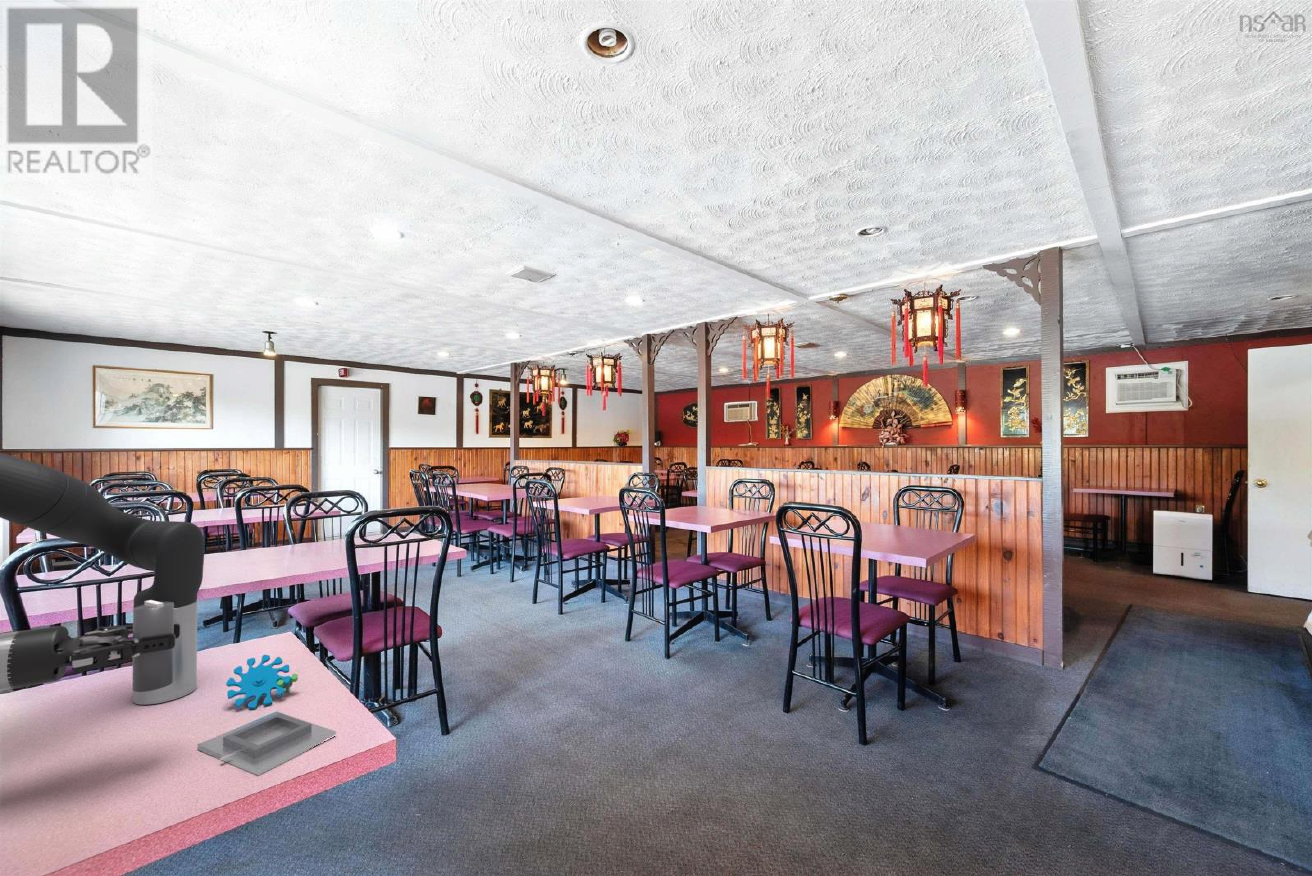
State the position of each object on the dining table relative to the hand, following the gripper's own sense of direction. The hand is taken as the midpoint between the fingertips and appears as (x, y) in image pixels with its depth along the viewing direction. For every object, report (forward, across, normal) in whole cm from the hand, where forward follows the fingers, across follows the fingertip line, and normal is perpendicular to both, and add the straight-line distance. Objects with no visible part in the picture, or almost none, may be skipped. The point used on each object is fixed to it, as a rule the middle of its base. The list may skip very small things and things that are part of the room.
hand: (176, 635), depth 86 cm
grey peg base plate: (+12, -3, +19) cm, 22 cm away
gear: (+11, +15, +19) cm, 27 cm away
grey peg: (-3, 0, +7) cm, 7 cm away
